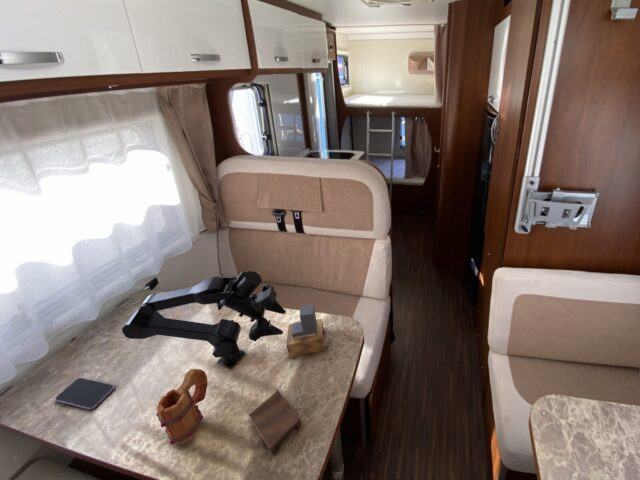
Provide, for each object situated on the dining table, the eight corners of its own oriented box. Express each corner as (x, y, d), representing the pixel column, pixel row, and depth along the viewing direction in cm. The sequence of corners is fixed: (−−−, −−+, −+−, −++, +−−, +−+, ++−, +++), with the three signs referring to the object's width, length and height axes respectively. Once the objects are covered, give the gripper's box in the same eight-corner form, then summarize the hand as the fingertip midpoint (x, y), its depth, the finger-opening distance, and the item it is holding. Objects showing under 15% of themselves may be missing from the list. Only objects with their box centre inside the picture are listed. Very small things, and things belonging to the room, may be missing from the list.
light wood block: (289, 357, 104) (286, 345, 101) (291, 336, 112) (288, 324, 109) (324, 350, 106) (322, 338, 103) (324, 330, 114) (321, 318, 111)
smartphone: (91, 409, 90) (52, 399, 93) (92, 411, 91) (54, 401, 94) (115, 385, 97) (79, 376, 100) (116, 387, 97) (80, 379, 100)
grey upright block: (317, 323, 109) (313, 303, 105) (317, 334, 105) (313, 314, 101) (293, 327, 108) (289, 307, 104) (292, 339, 103) (287, 318, 100)
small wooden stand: (251, 421, 86) (248, 414, 84) (279, 396, 92) (277, 390, 90) (271, 454, 78) (269, 447, 77) (301, 425, 84) (299, 418, 83)
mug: (187, 454, 79) (168, 419, 73) (161, 447, 81) (140, 413, 75) (224, 397, 92) (211, 364, 86) (202, 393, 94) (187, 360, 88)
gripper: (252, 306, 87) (297, 327, 93) (262, 268, 104) (299, 288, 110) (229, 332, 89) (275, 351, 95) (243, 290, 106) (281, 309, 112)
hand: (283, 322), depth 103 cm, fingers open, 9 cm apart
